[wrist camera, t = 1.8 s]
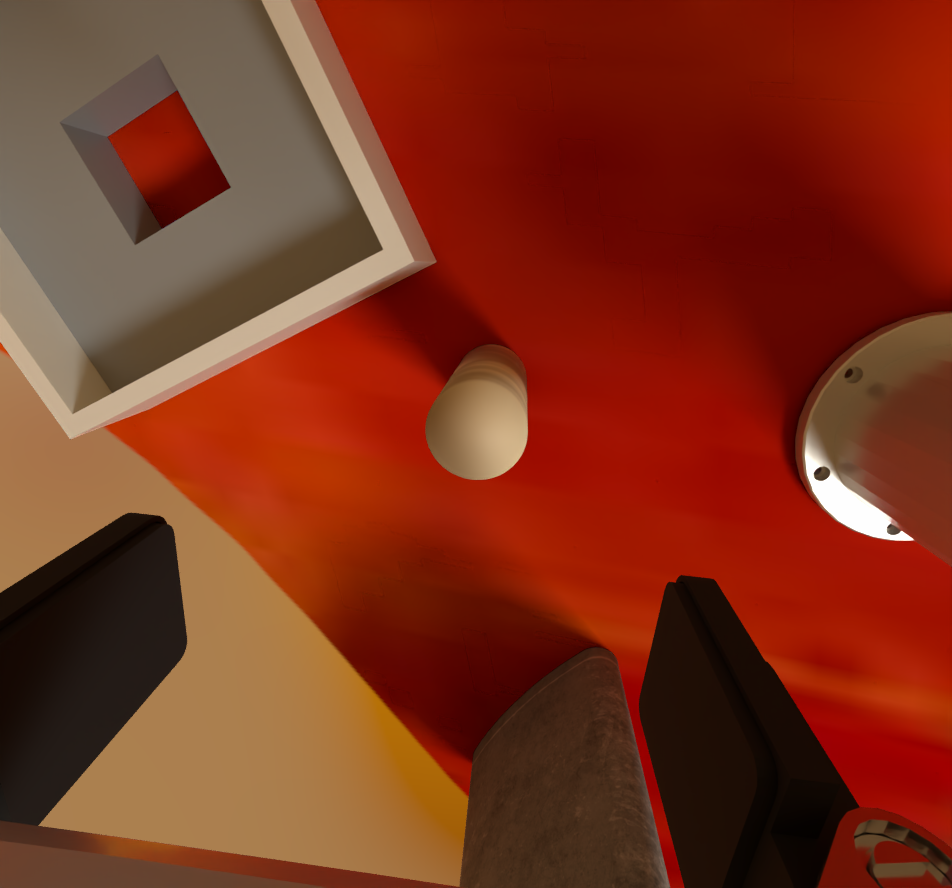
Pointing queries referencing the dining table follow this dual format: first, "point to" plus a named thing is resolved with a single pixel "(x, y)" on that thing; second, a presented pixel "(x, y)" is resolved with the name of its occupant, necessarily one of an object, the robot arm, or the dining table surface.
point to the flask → (563, 789)
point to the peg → (481, 415)
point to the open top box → (202, 230)
